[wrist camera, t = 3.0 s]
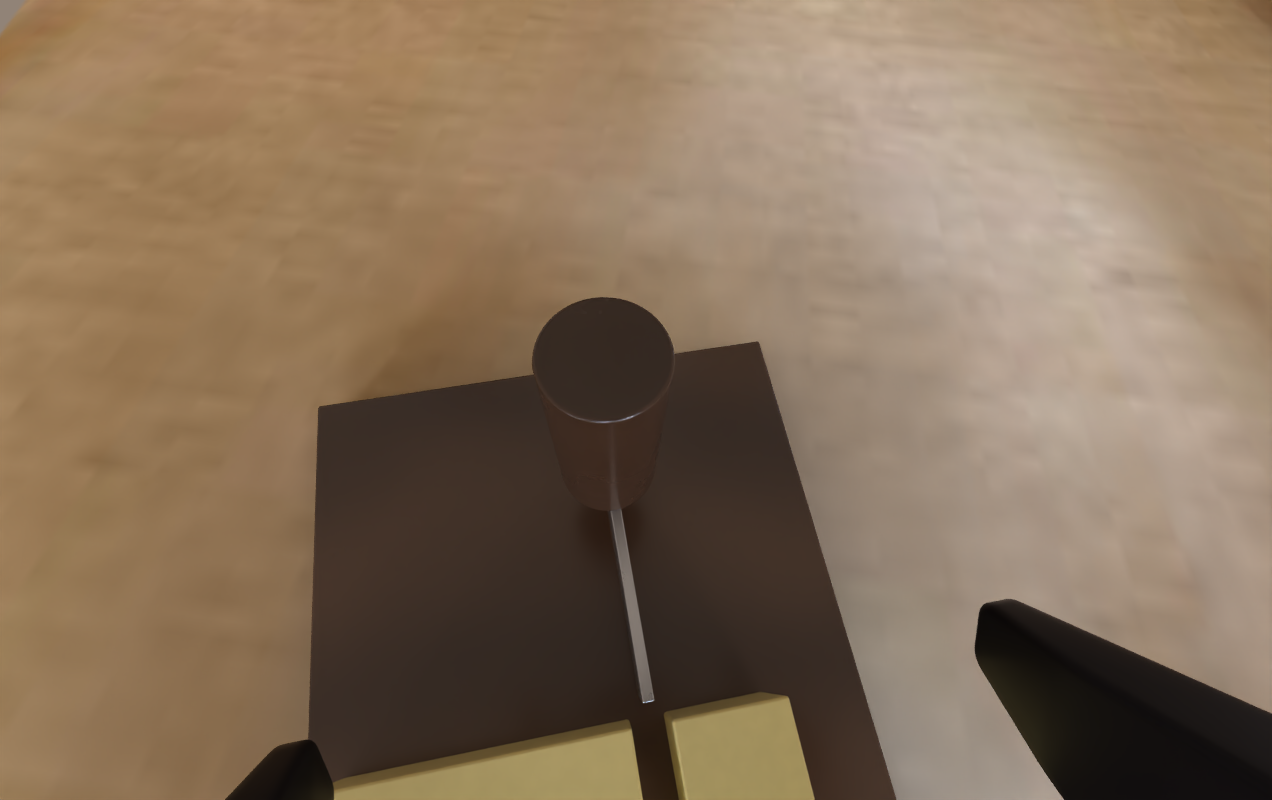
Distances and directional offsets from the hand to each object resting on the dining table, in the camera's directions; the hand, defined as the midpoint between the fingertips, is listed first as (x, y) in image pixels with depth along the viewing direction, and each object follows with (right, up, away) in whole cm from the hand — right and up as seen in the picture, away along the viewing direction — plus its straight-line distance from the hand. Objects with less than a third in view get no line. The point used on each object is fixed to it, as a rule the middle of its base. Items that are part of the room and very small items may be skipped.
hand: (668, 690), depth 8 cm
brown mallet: (-1, -1, +11) cm, 11 cm away
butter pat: (+2, -7, +9) cm, 11 cm away
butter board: (-2, -5, +11) cm, 12 cm away
